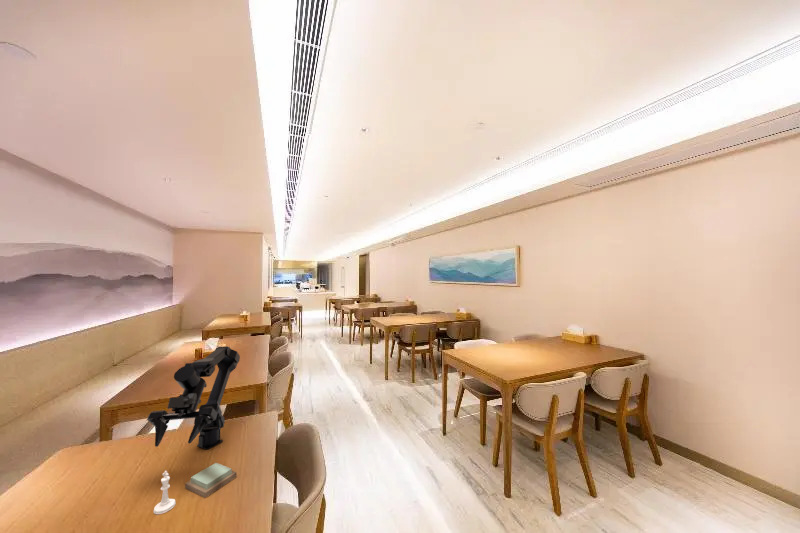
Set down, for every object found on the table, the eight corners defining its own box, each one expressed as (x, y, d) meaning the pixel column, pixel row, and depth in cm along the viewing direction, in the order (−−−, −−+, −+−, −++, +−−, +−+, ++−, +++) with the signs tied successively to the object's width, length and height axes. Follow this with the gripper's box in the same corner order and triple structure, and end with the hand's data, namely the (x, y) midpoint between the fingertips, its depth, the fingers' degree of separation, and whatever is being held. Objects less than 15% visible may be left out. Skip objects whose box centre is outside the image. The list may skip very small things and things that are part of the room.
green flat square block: (216, 469, 100) (217, 460, 100) (236, 477, 96) (236, 467, 96) (185, 488, 91) (185, 478, 91) (205, 497, 86) (205, 487, 87)
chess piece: (163, 515, 80) (164, 478, 81) (148, 513, 81) (149, 476, 82) (180, 502, 85) (180, 466, 85) (166, 499, 86) (167, 465, 86)
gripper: (151, 386, 95) (125, 439, 84) (213, 382, 98) (196, 432, 87) (165, 400, 103) (143, 451, 91) (223, 396, 106) (208, 444, 95)
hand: (172, 444), depth 91 cm, fingers open, 9 cm apart
